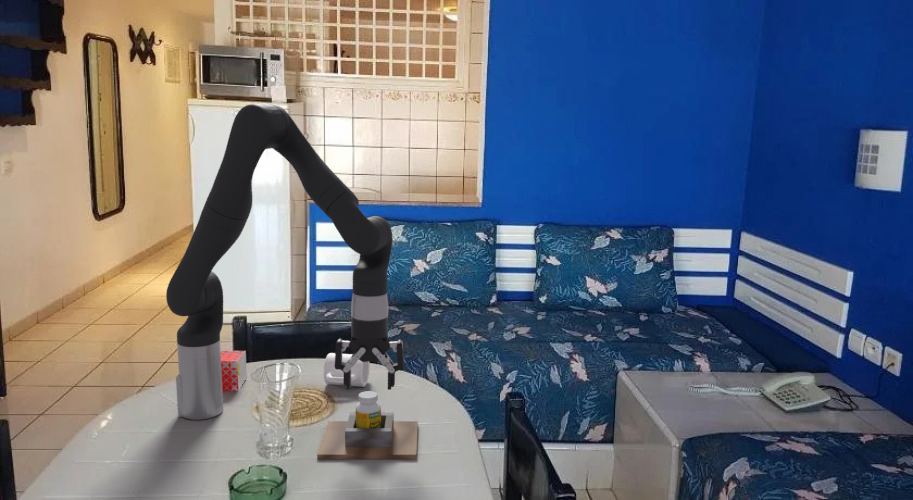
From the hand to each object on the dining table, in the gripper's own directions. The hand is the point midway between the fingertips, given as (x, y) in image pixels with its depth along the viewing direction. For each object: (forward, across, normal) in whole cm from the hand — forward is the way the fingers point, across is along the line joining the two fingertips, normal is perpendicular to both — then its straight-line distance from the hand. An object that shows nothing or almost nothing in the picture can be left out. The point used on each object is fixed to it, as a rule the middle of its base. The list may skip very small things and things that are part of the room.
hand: (369, 388), depth 152 cm
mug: (+12, -9, +31) cm, 34 cm away
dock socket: (+12, 0, 0) cm, 12 cm away
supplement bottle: (+11, 0, 0) cm, 11 cm away
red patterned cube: (+13, -39, +32) cm, 52 cm away
